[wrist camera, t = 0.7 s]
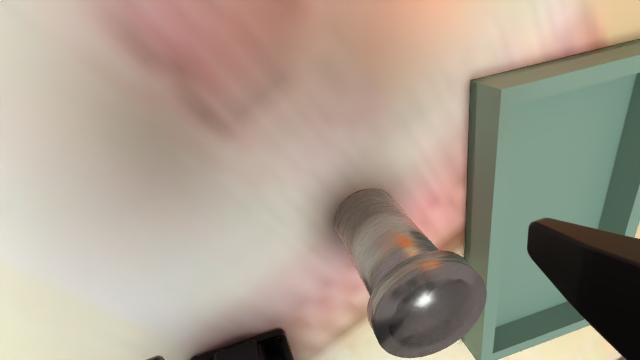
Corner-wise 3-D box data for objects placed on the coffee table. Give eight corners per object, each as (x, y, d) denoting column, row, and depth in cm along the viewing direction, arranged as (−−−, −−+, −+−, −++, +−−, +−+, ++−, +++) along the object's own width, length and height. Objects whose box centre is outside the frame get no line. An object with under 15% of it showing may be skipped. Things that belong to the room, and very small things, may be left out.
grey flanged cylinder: (406, 238, 24) (483, 335, 17) (332, 261, 23) (381, 372, 16) (402, 169, 21) (490, 250, 15) (318, 193, 21) (369, 289, 14)
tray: (582, 296, 32) (608, 317, 30) (461, 340, 30) (480, 365, 28) (648, 36, 22) (696, 40, 20) (470, 80, 20) (501, 89, 18)
